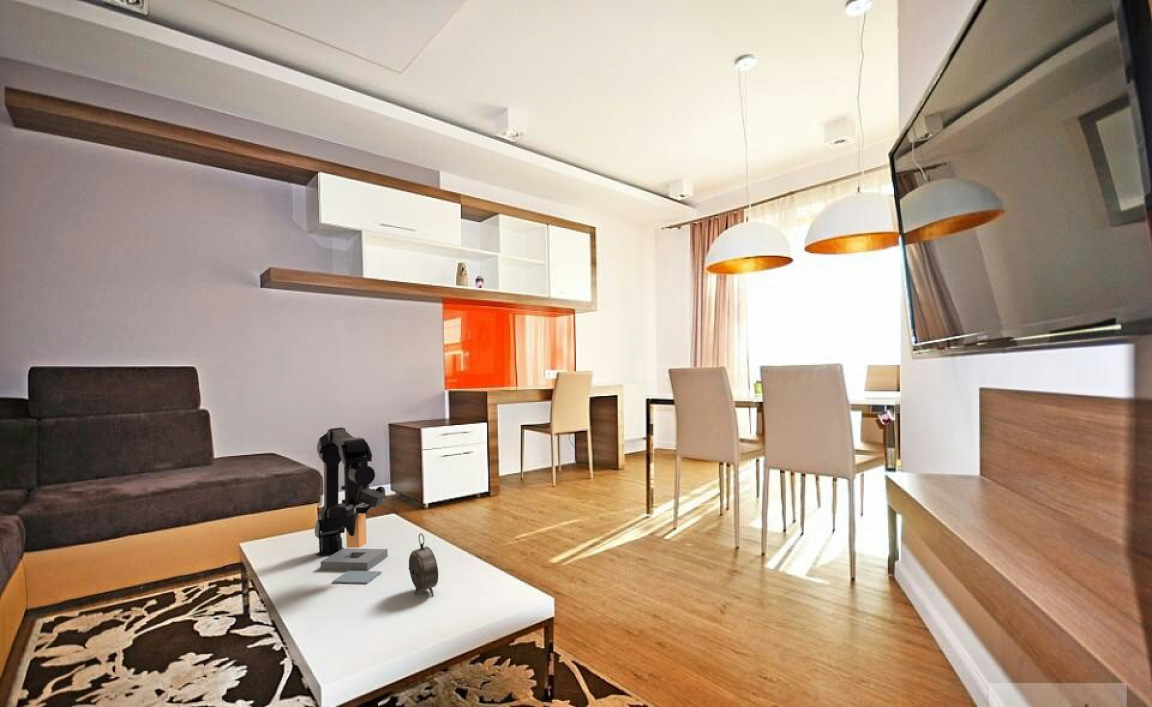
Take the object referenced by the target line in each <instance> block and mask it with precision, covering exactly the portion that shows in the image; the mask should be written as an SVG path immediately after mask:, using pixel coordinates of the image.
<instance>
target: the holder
mask: <svg viewBox="0 0 1152 707" xmlns="http://www.w3.org/2000/svg"><path fill="white" fill-rule="evenodd" d="M388 554H389V553H388V548H347V547H346V548H345V547H344V548H343V549H341V550H340V551H338V552H336V553H335V554H333V555H328V557H325V559H323V560H320V570H321V571H322V570H325V571H370V569H371V570H372V568H373V567H375V566H376V565H378V564H380V563H381V562H383V559H384V560H385V559H386V558H388Z"/></svg>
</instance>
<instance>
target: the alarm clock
mask: <svg viewBox="0 0 1152 707" xmlns="http://www.w3.org/2000/svg"><path fill="white" fill-rule="evenodd" d="M421 536H422V540H423V542H422V543H421V540H420V537H421ZM418 543H419V546H420V547H419V548H416V549H414V550H412V552H411V553H410V555H409V557H408V558H409V559H408V571H409V575H410V579H411V581H412V584H413V586H414V588H415V591H414V595H417V592H418V591H420V592H424V591H426V590H429V593H430V596H431V597H434V590H433V588H435V587H436V586H437V585H438V582H439V567H438V563H437V559H436V557H435V554H434V552H433V550H432V549H431V548H430V547H429V546H424V545H425V536H424V534H423V533H419V534H418Z"/></svg>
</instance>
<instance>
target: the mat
mask: <svg viewBox="0 0 1152 707" xmlns="http://www.w3.org/2000/svg"><path fill="white" fill-rule="evenodd" d="M381 574H382V571H379V570H378V571H376V570H368V571H356V570H346V571H345V572H344V573H342V574H341V575H339V576H338V577H336V578H335V579H333V580H332V584H348V585H349V584H351V585H352V584H353V585H354V584H355V585H368V584H369V583H370V582H372V581H373V580H374V579H376V578H377V577H378V576H380V575H381Z"/></svg>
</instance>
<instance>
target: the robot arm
mask: <svg viewBox="0 0 1152 707" xmlns="http://www.w3.org/2000/svg"><path fill="white" fill-rule="evenodd" d="M316 452H317V455H318V458H319V459H320V460H321V462H322V463H323V506H322V508H321V509H320V511H319V512H318V517H317V518H318V519H317V520H316V523H315V525H314V526H315V527H314V536H315V537H316V538H317V539H318V549H319V551H318V552H316V553H315V555H316V556H331V555H333V554H335V553H336V552H338V551H340V550H341V549H343V548H345V547H343V537H342V535H341V534H344V533H345V532H346V530H347V531H348V533H349V535H350V536H354V532H355V518H356V517H357V516H358V514H359V513H366V517H367V516H368V513H369V511H370V510H371V509H373V508H376V507H377V506H379V505H382V503H383V499H384V498H386V497H387V496H386V488H385V487H384V486H381V485H380V486H378V487H376V488H370V485H371V484H372V483H373V482H374V480H375V477H376V472H375V469H373V467H371V466H369V465H368V462H372V461H373V459H372V458H373V454H372V451H371V448H370V445H369V443H368V442H367V441H366V439H365V438H363V437H354V436H352V435H351V434H350V433H349V432H348V431H346V428H345V427H341V426H340V427H334V428H330V429H327V430H326V433H324V434H323V435H322V436H320V437H319V439H318V441H317V444H316ZM341 462H342V465H343V481H344V482H343V483H344V485H341V487H339V483H340V482H339V476H340V474H339V473H340V472H339V470H340V463H341ZM339 488H340V489H341V490H342V491H344V499H342V500H341V504H339Z"/></svg>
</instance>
